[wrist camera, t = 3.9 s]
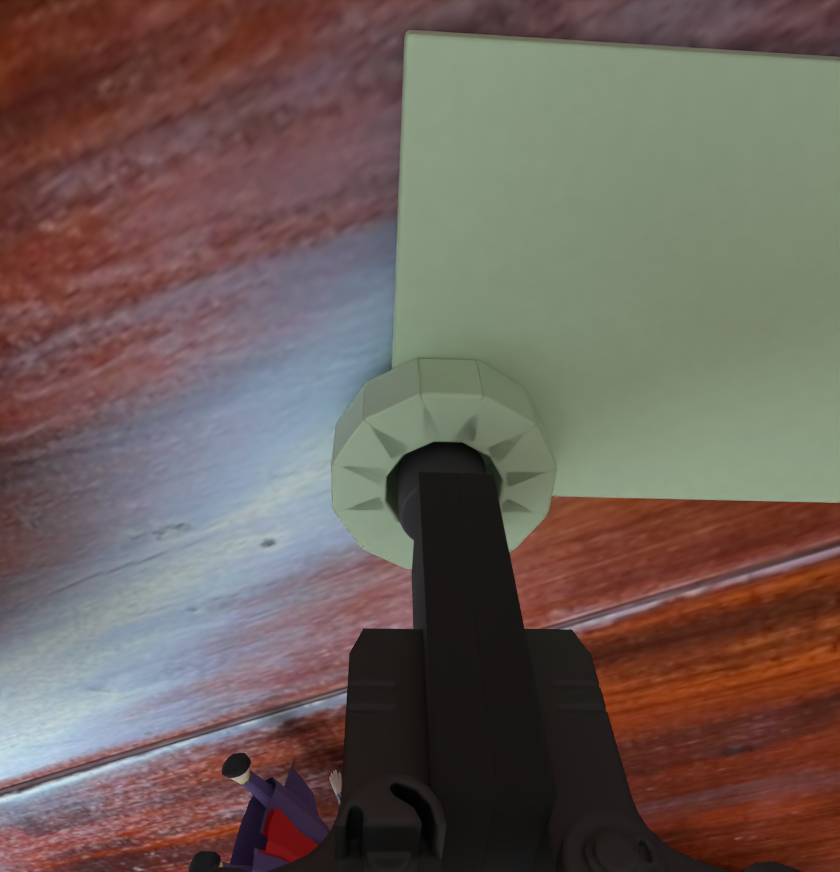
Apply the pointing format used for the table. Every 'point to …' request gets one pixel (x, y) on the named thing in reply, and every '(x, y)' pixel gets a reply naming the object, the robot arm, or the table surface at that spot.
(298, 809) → the figurine
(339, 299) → the table surface
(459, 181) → the scale
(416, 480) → the tare button
